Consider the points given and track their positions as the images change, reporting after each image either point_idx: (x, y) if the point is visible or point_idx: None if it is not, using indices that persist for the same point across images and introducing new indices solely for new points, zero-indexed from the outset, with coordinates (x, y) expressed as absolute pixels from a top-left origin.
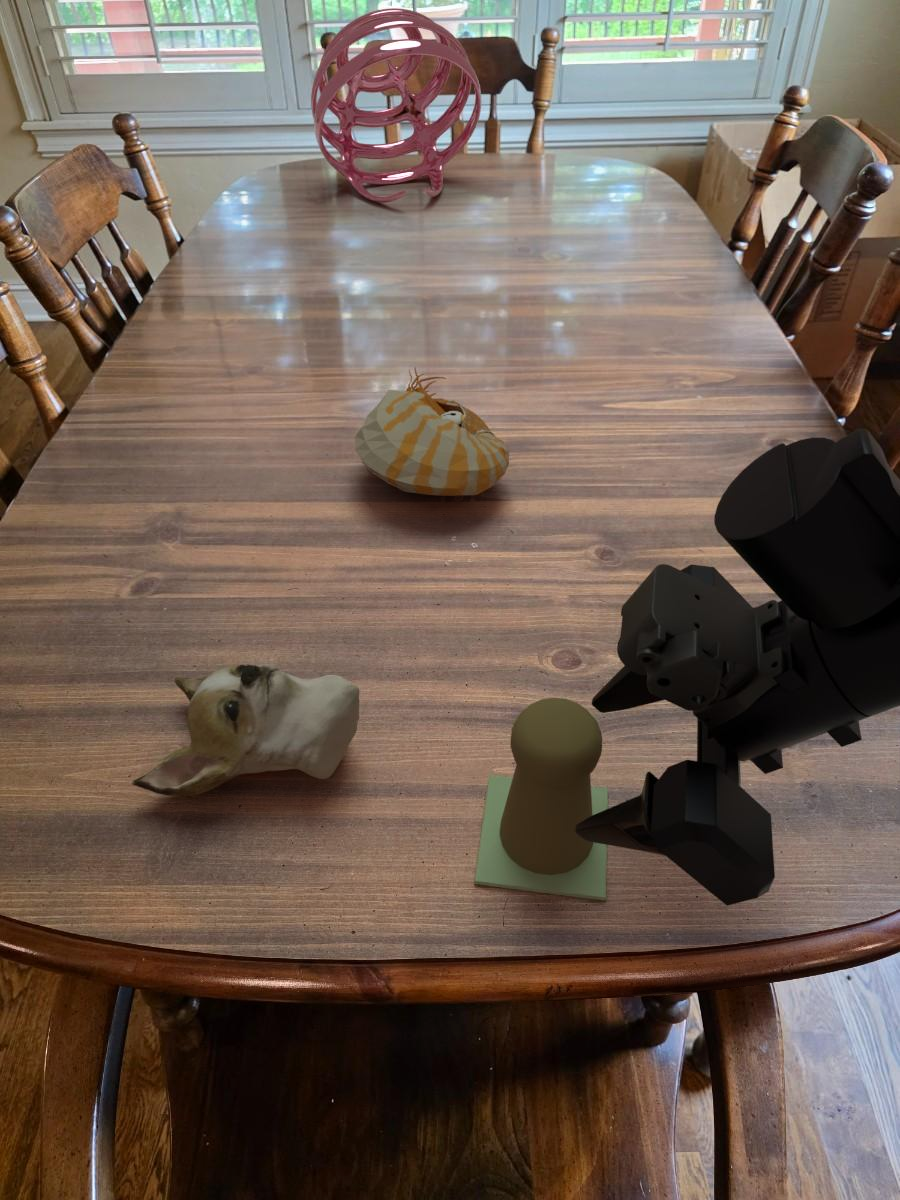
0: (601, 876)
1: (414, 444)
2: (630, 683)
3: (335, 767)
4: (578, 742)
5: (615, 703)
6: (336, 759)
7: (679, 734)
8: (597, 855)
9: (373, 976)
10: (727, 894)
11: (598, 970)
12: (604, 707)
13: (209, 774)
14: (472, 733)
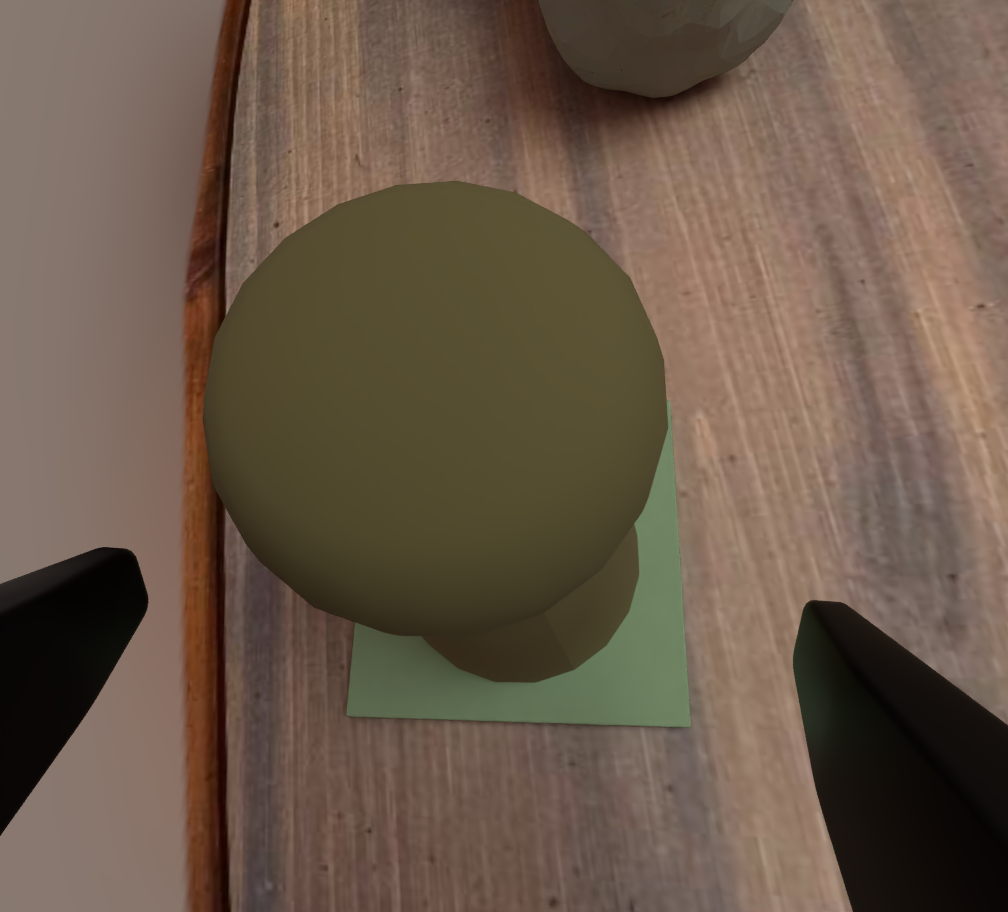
0: (403, 705)
1: None
2: (934, 837)
3: (598, 73)
4: (278, 464)
5: (825, 729)
6: (602, 52)
7: None
8: (461, 694)
9: (196, 274)
10: None
11: (187, 697)
12: (804, 670)
13: None
14: (806, 347)
